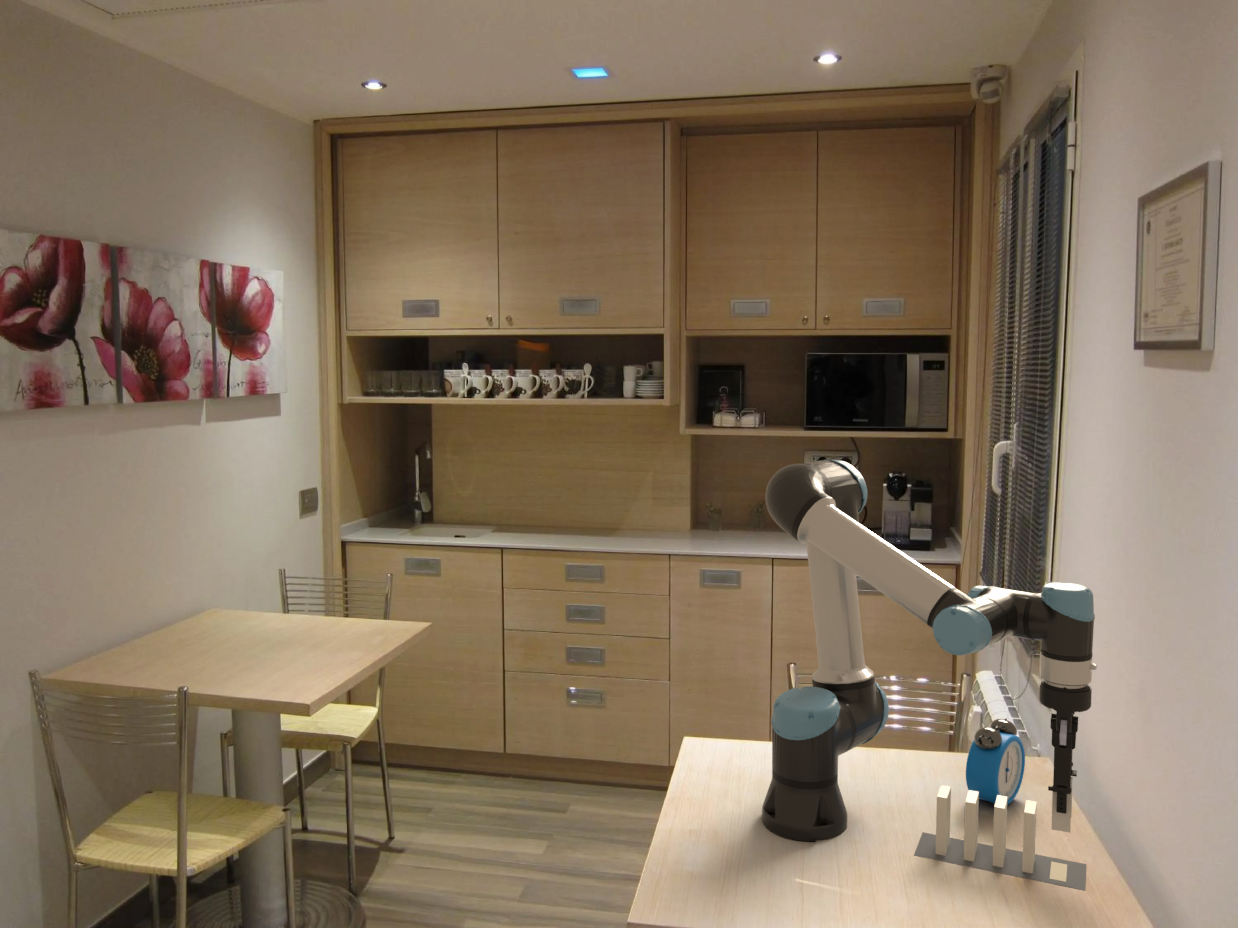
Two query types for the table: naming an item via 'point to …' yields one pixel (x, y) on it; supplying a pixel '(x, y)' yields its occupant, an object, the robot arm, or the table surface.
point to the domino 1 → (943, 820)
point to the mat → (1008, 862)
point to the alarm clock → (996, 762)
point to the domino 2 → (971, 825)
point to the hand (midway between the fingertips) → (1061, 822)
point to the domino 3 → (999, 831)
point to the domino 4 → (1029, 836)
